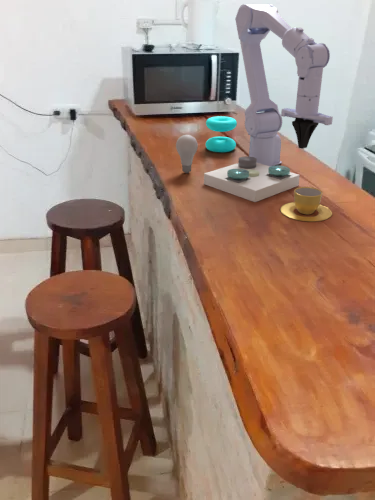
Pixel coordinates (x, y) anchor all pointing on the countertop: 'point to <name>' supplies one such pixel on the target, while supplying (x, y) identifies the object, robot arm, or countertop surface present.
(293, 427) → the countertop surface
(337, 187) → the countertop surface
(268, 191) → the instrument base
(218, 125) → the donuts
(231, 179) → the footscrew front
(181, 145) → the lightbulb
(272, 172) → the disc
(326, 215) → the cup
